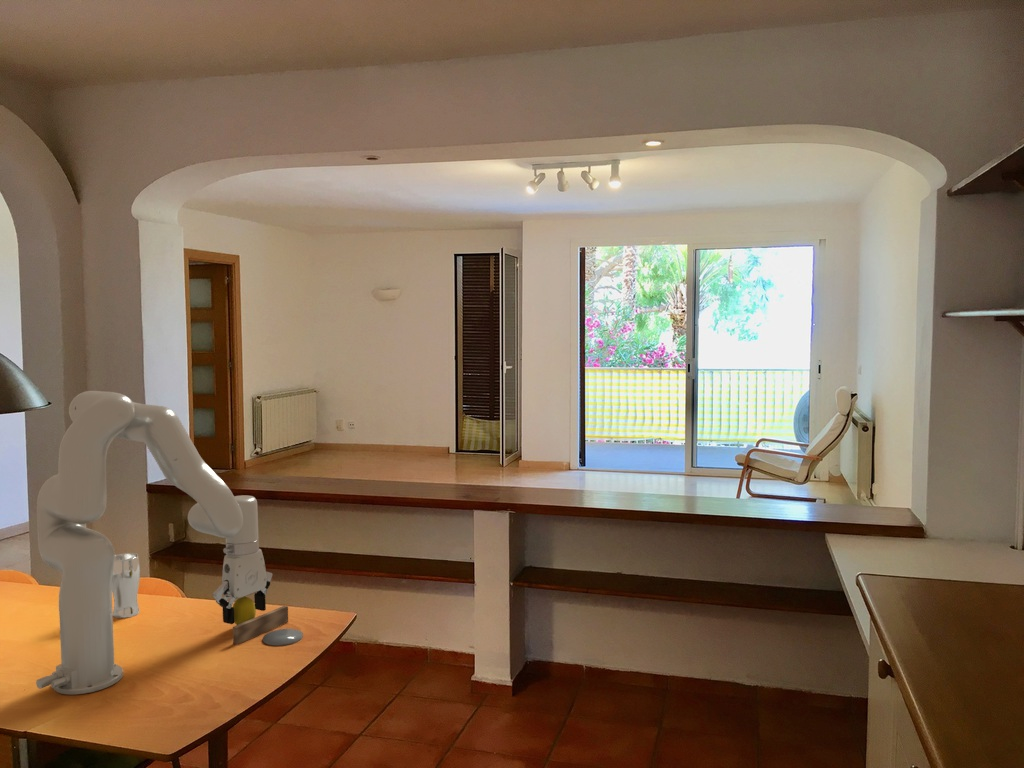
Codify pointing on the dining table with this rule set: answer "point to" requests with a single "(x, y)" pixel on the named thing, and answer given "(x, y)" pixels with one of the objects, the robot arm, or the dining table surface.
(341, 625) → the dining table surface
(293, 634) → the coaster
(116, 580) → the beer glass
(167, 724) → the dining table surface
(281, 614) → the walnut wall
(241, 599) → the lemon
